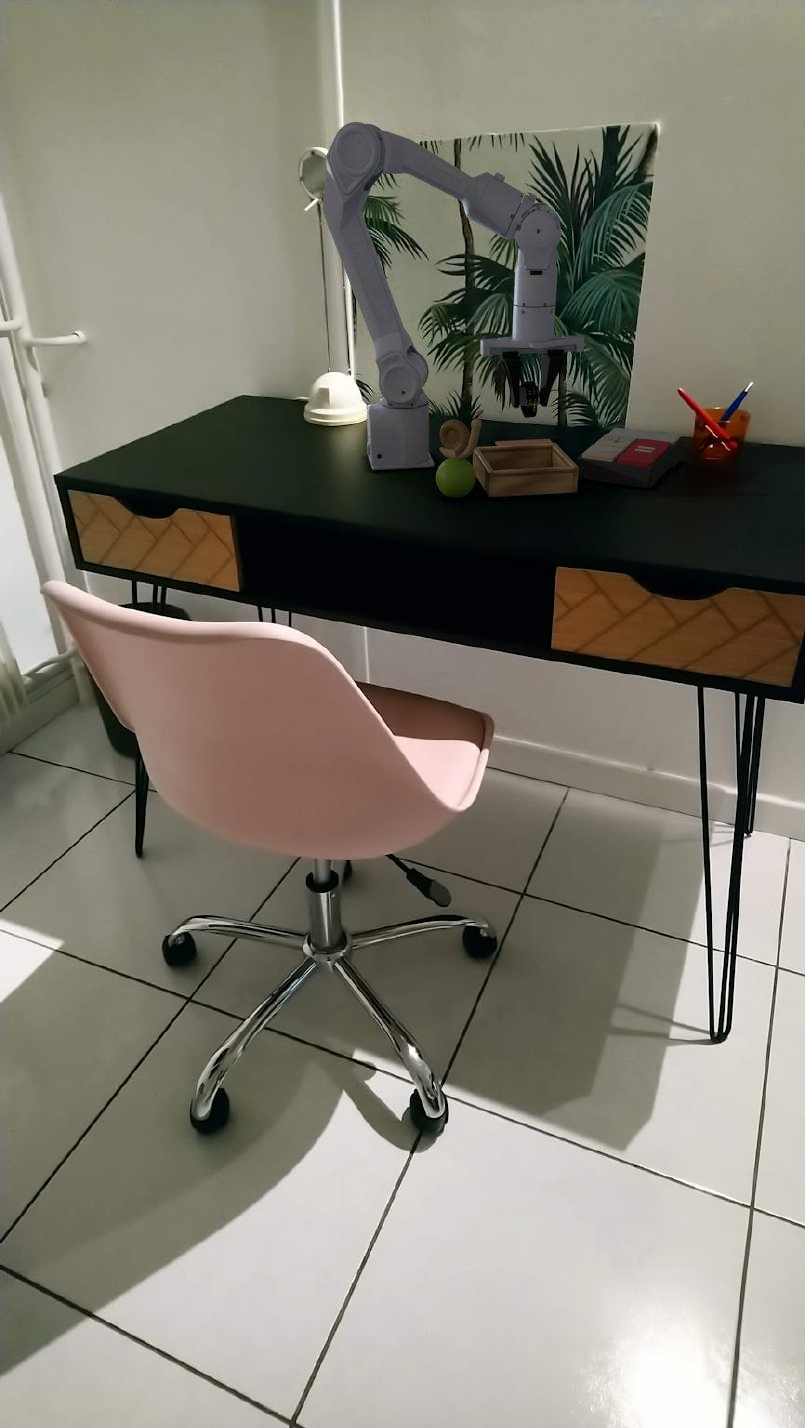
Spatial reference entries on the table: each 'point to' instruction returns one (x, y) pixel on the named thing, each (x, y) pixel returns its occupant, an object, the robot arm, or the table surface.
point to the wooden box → (525, 470)
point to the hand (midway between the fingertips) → (529, 405)
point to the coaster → (523, 442)
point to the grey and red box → (630, 457)
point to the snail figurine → (457, 457)
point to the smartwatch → (529, 398)
